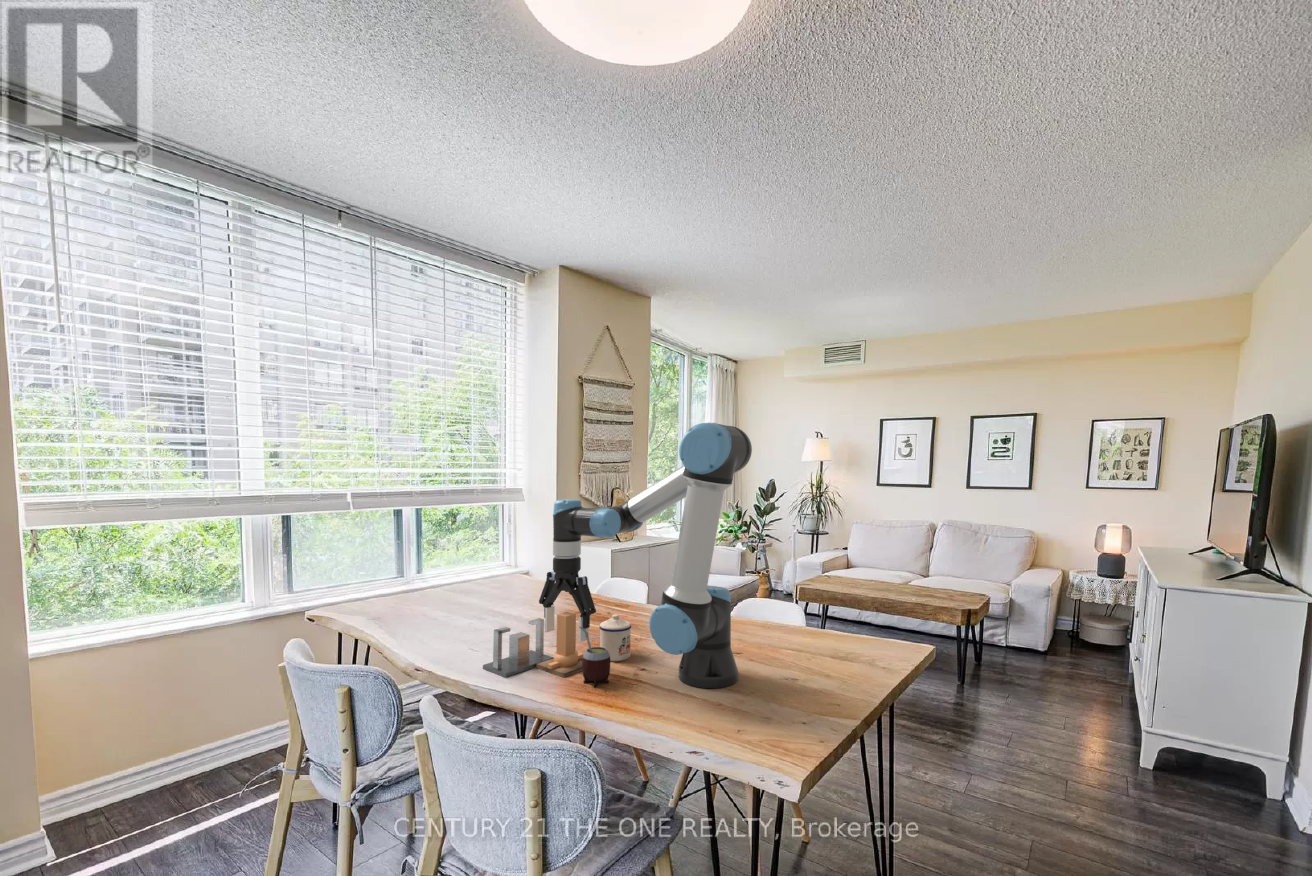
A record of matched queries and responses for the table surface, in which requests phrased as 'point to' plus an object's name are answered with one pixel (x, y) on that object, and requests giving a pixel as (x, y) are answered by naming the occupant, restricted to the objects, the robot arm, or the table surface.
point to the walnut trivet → (560, 668)
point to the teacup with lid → (616, 638)
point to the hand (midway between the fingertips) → (566, 635)
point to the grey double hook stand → (517, 651)
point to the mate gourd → (595, 664)
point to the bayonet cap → (566, 642)
